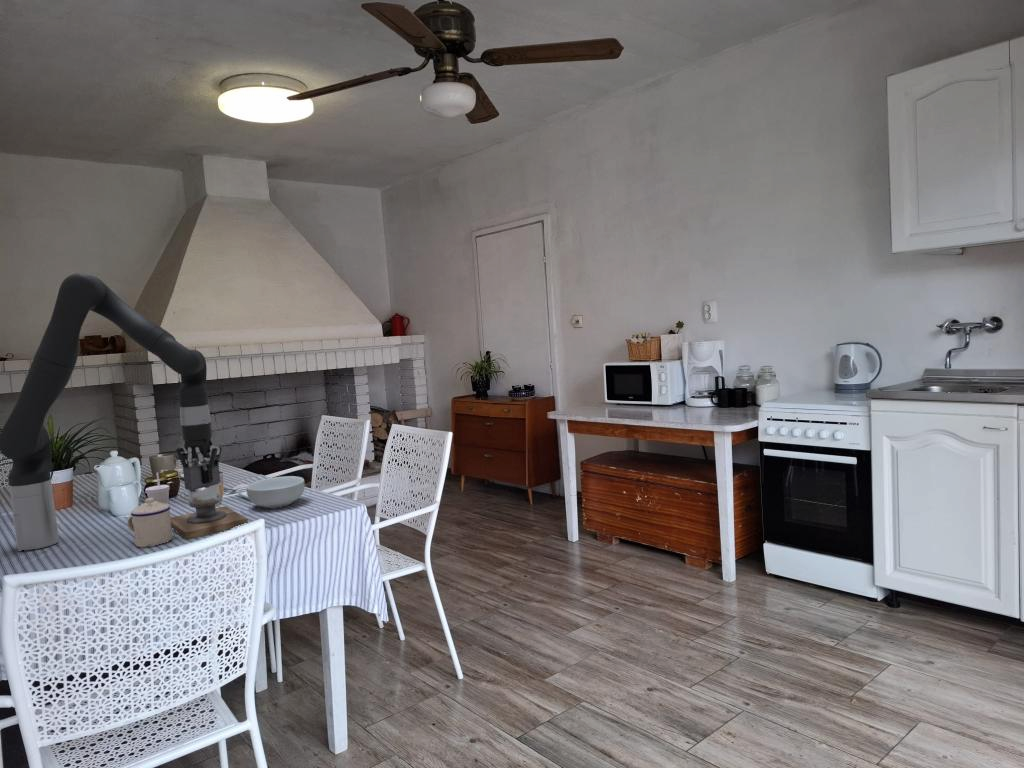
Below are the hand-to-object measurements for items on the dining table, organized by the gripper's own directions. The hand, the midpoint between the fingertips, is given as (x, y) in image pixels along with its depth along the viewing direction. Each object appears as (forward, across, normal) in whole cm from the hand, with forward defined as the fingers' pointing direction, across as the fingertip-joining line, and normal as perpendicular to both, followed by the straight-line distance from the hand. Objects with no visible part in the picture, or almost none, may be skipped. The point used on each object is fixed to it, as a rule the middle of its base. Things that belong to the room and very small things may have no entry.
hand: (202, 482), depth 193 cm
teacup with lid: (+12, -5, -15) cm, 20 cm away
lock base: (+12, 0, 0) cm, 12 cm away
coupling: (+6, 0, +1) cm, 6 cm away
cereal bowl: (+12, +7, +22) cm, 26 cm away
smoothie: (+12, -20, +4) cm, 24 cm away
